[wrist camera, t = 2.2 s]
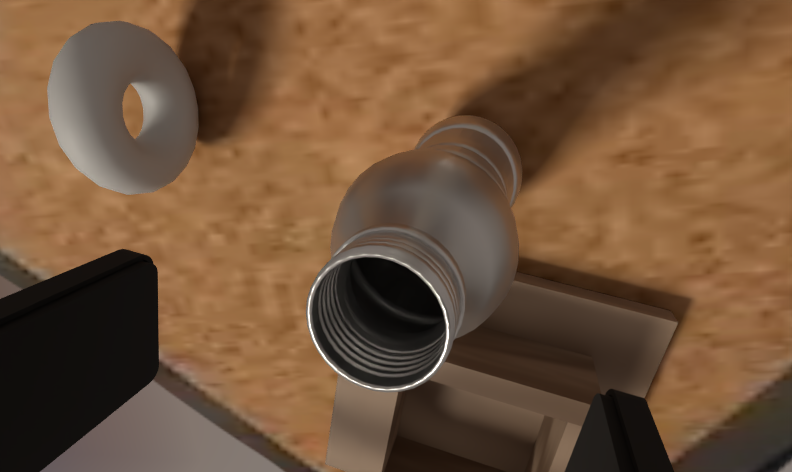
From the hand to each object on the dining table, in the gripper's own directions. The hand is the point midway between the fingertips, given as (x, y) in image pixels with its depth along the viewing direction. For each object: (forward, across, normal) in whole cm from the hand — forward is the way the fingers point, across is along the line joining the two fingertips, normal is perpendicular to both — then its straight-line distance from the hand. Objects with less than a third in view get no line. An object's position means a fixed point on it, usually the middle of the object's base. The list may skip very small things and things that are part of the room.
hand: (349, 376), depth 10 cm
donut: (+22, +20, -1) cm, 29 cm away
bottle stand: (+22, -4, +15) cm, 27 cm away
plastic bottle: (+22, 0, -1) cm, 22 cm away
